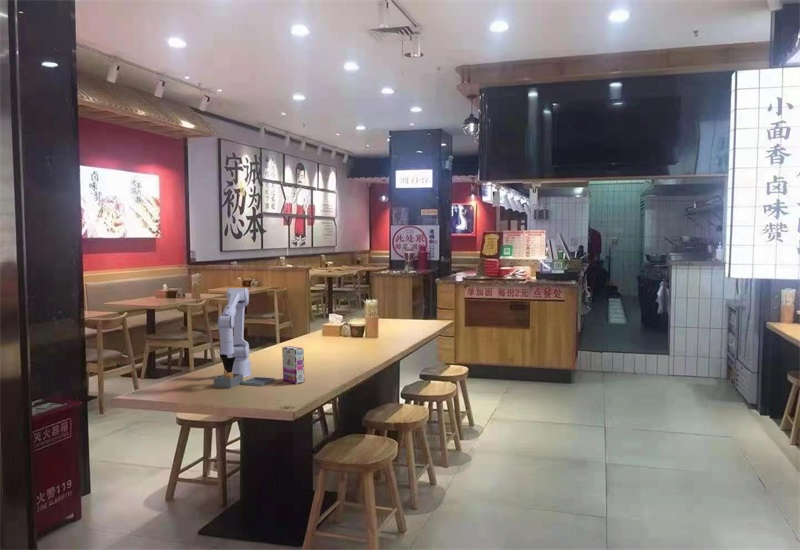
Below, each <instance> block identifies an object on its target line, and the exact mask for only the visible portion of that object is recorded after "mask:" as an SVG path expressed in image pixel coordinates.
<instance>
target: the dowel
mask: <svg viewBox="0 0 800 550" xmlns="http://www.w3.org/2000/svg"><path fill="white" fill-rule="evenodd" d="M223 374H224V378H232V377H233V370H232V372H230V373H227V371H226V370H225V369H224V370H223Z"/></svg>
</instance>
